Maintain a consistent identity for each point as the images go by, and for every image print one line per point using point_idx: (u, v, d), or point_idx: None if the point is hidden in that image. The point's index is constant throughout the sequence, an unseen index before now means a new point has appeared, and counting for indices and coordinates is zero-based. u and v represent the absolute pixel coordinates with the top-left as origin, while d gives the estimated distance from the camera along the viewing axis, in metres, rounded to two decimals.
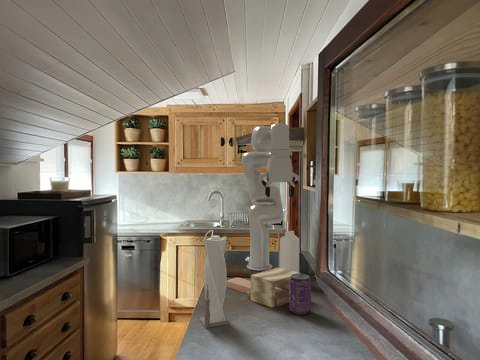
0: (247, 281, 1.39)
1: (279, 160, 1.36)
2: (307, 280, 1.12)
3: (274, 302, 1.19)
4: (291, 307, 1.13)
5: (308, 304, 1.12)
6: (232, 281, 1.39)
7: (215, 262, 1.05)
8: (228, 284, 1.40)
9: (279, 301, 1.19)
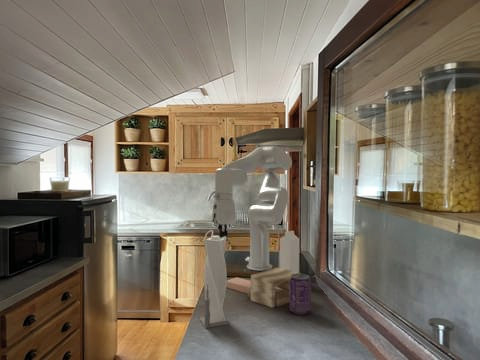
0: (247, 281, 1.40)
1: None
2: (307, 280, 1.12)
3: (274, 302, 1.19)
4: (291, 307, 1.13)
5: (308, 304, 1.12)
6: (232, 281, 1.39)
7: (215, 262, 1.05)
8: (227, 285, 1.39)
9: (279, 301, 1.19)
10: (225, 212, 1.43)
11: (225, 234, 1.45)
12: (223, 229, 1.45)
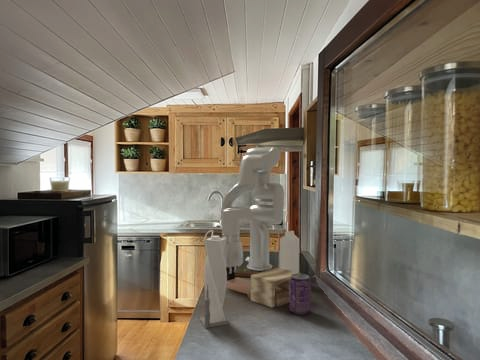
0: (248, 281, 1.38)
1: None
2: (307, 280, 1.12)
3: (274, 302, 1.19)
4: (291, 307, 1.13)
5: (308, 304, 1.12)
6: (233, 281, 1.38)
7: (215, 262, 1.05)
8: (229, 285, 1.38)
9: (279, 301, 1.19)
10: (232, 254, 1.40)
11: (232, 276, 1.42)
12: (230, 271, 1.42)
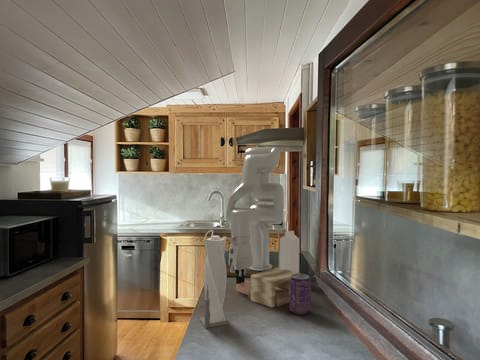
0: None
1: None
2: (307, 280, 1.12)
3: (274, 302, 1.19)
4: (291, 307, 1.13)
5: (308, 304, 1.12)
6: (242, 285, 1.34)
7: (215, 262, 1.05)
8: (238, 288, 1.34)
9: (279, 301, 1.19)
10: (242, 257, 1.36)
11: (242, 279, 1.38)
12: (240, 274, 1.38)
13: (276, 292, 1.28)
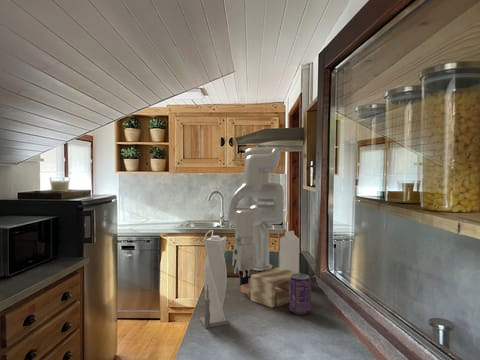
0: None
1: None
2: (307, 280, 1.12)
3: (274, 302, 1.19)
4: (291, 307, 1.13)
5: (308, 304, 1.12)
6: (247, 286, 1.33)
7: (215, 262, 1.05)
8: (243, 289, 1.33)
9: (279, 301, 1.19)
10: (246, 257, 1.35)
11: (246, 280, 1.37)
12: (244, 275, 1.36)
13: None
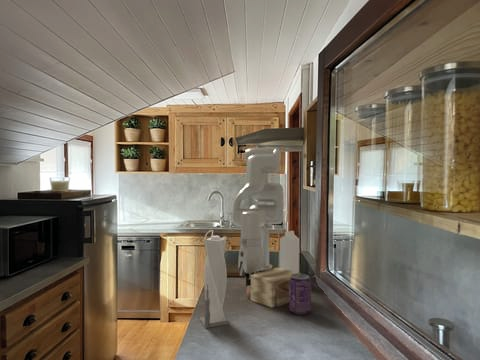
0: None
1: None
2: (307, 280, 1.12)
3: (274, 302, 1.19)
4: (291, 307, 1.13)
5: (308, 304, 1.12)
6: None
7: (215, 262, 1.05)
8: (249, 290, 1.31)
9: (279, 301, 1.19)
10: (252, 259, 1.33)
11: None
12: (250, 277, 1.34)
13: None
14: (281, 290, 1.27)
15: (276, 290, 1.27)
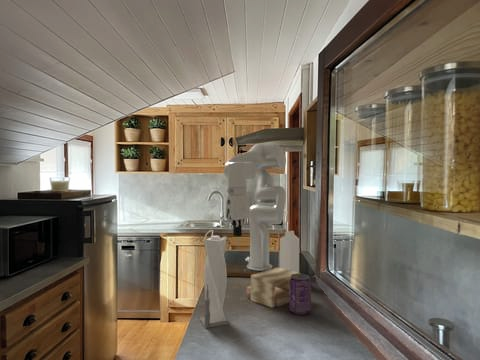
0: None
1: None
2: (307, 280, 1.12)
3: (274, 302, 1.19)
4: (291, 307, 1.13)
5: (308, 304, 1.12)
6: None
7: (215, 262, 1.05)
8: (249, 291, 1.31)
9: (279, 301, 1.19)
10: (239, 207, 1.38)
11: (239, 230, 1.40)
12: (237, 225, 1.40)
13: None
14: (281, 291, 1.27)
15: (276, 291, 1.27)
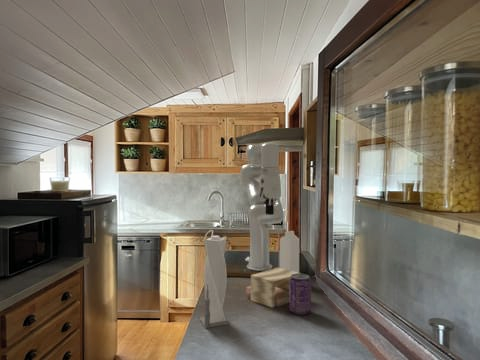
0: None
1: None
2: (307, 280, 1.12)
3: (274, 302, 1.19)
4: (291, 307, 1.13)
5: (308, 304, 1.12)
6: None
7: (215, 262, 1.05)
8: (249, 291, 1.31)
9: (279, 301, 1.19)
10: (272, 186, 1.45)
11: (272, 208, 1.47)
12: (270, 203, 1.46)
13: None
14: (281, 291, 1.27)
15: (276, 291, 1.27)
